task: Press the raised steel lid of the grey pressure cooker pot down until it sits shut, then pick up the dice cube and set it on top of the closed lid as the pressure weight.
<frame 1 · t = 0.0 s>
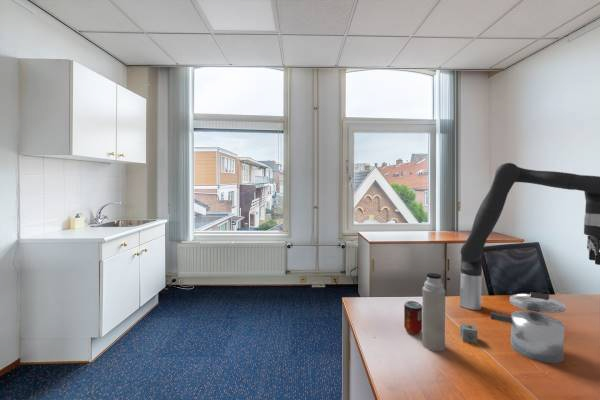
hand: (595, 262, 118), 29 cm above the table, tool pointing down, fingers open, 8 cm apart
thermos bottle: (433, 345, 109), on the table
pressure cooker lid: (536, 302, 105), point 18 cm above the table, hinge at 35.0°
soda can: (412, 331, 120), on the table
dice cube: (468, 339, 113), on the table
pressure cooker pot: (535, 350, 105), on the table
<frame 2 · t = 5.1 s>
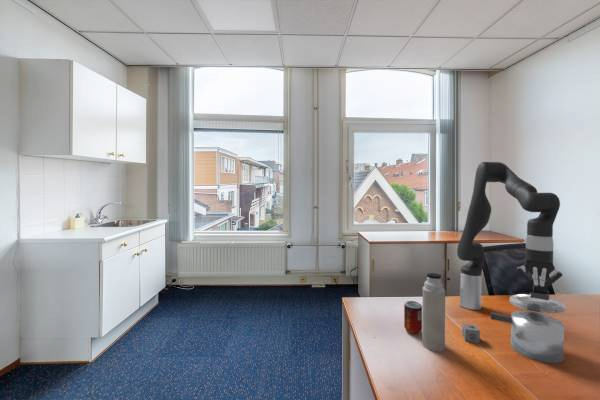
hand: (538, 295, 101), 22 cm above the table, tool pointing down, fingers closed
pressure cooker lid: (536, 302, 105), point 18 cm above the table, hinge at 34.7°, touching gripper
everything else where it was.
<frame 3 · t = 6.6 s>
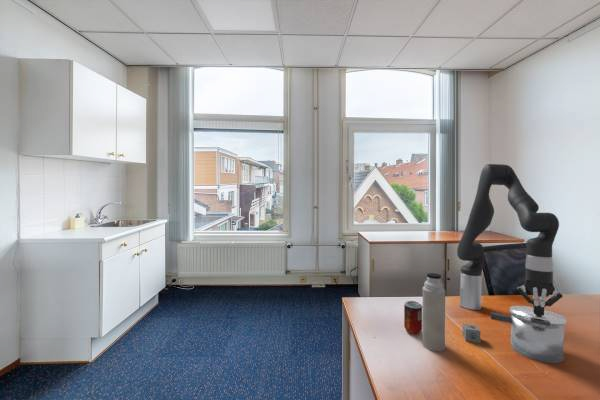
hand: (538, 316, 101), 15 cm above the table, tool pointing down, fingers closed
pressure cooker lid: (536, 315, 103), point 14 cm above the table, hinge at 5.7°, touching gripper
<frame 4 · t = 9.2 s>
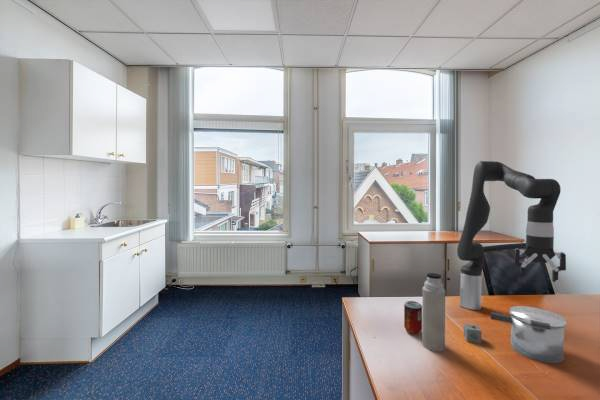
hand: (538, 279, 101), 28 cm above the table, tool pointing down, fingers open, 8 cm apart
pressure cooker lid: (536, 317, 103), point 13 cm above the table, hinge at 2.2°
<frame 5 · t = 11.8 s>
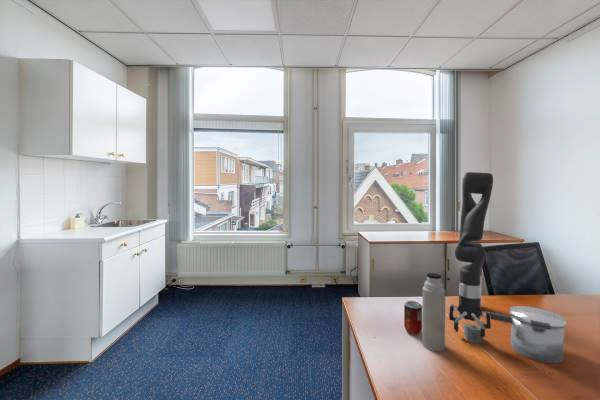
hand: (469, 334, 113), 2 cm above the table, tool pointing down, fingers open, 8 cm apart
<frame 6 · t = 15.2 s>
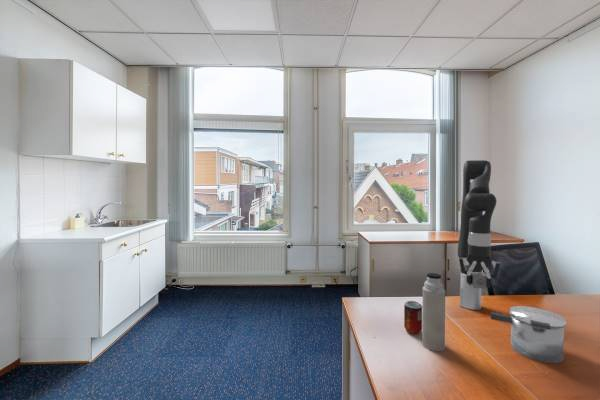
hand: (478, 285, 111), 22 cm above the table, tool pointing down, fingers closed on dice cube, 5 cm apart
dice cube: (478, 286, 112), point 21 cm above the table, touching gripper
everything else where it was.
when the fingers open (15 cm above the table, at t = 18.1 s): dice cube stays where it is, resting on pressure cooker lid.
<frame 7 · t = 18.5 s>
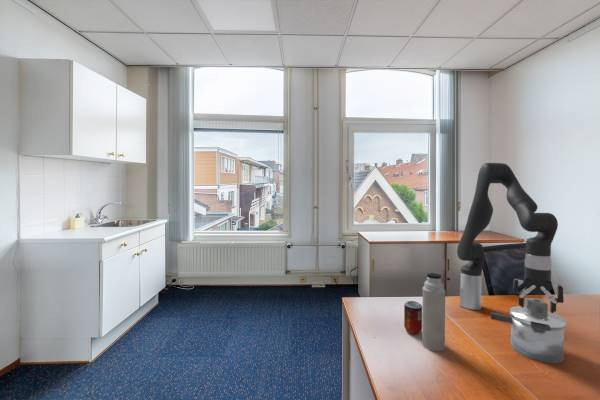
hand: (536, 309, 104), 16 cm above the table, tool pointing down, fingers open, 8 cm apart
pressure cooker lid: (536, 318, 103), point 13 cm above the table, hinge at 0.6°, touching dice cube
dice cube: (535, 314, 105), point 13 cm above the table, touching pressure cooker lid
everything else where it was.
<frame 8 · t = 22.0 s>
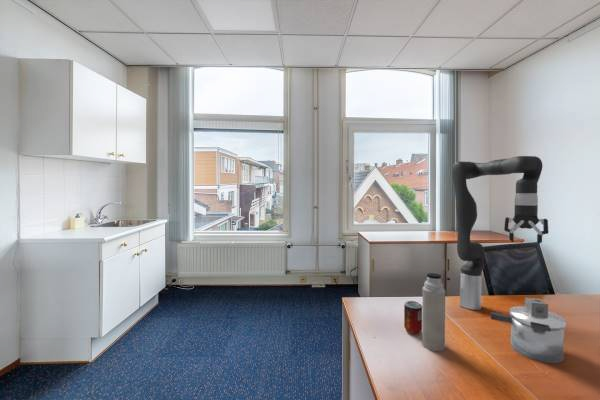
hand: (525, 242, 117), 38 cm above the table, tool pointing down, fingers open, 8 cm apart
pressure cooker lid: (536, 318, 103), point 13 cm above the table, hinge at -0.1°, touching dice cube
everything else where it was.
at the end: pressure cooker lid at +0° (first picture: +35°); dice cube inside the target area on the pressure cooker pot (1.2 cm from its centre), point 13.4 cm above the pressure cooker pot's base; dice cube touching pressure cooker lid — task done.
